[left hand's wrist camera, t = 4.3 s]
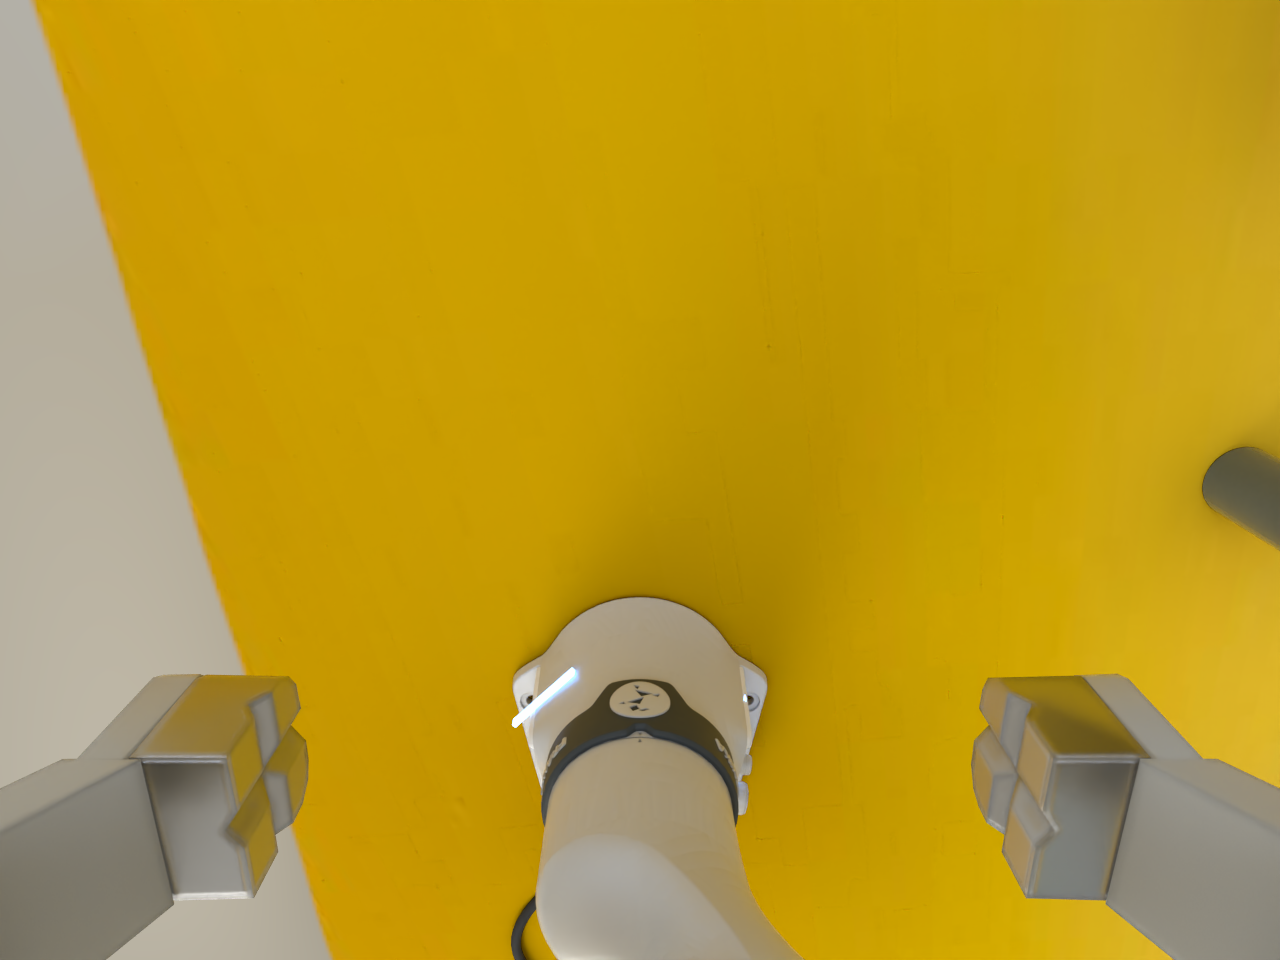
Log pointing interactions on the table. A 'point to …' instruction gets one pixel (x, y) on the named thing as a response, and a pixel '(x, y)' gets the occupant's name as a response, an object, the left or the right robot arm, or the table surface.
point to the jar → (1247, 491)
